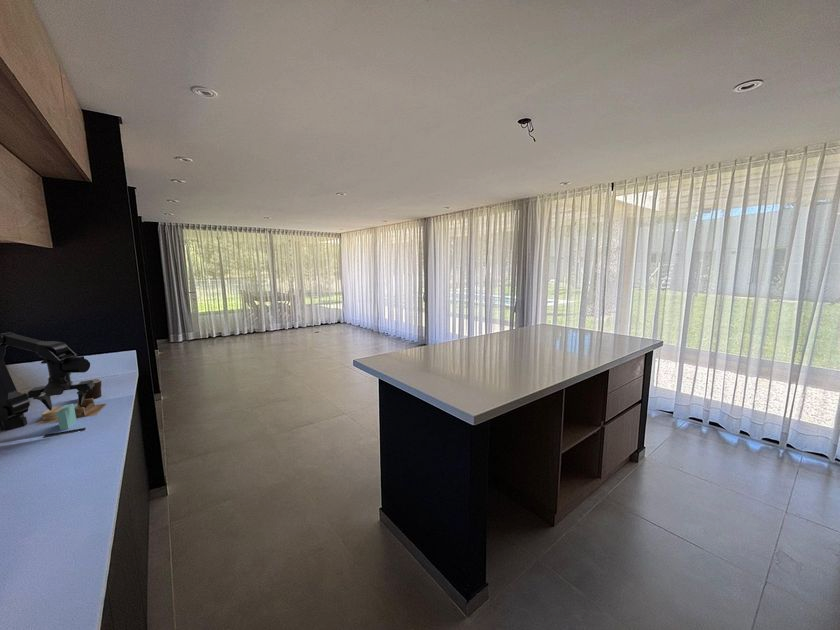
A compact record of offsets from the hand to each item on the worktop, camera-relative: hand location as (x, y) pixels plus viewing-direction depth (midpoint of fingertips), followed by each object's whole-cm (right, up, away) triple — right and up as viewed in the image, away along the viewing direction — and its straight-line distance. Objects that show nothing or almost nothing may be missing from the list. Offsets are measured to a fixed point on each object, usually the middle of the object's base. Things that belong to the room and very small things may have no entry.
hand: (65, 407), depth 141 cm
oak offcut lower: (-15, -6, +9) cm, 19 cm away
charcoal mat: (0, -9, +2) cm, 10 cm away
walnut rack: (-9, -8, +12) cm, 17 cm away
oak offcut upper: (-15, -5, +9) cm, 18 cm away
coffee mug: (-17, -5, +28) cm, 34 cm away
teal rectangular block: (0, -9, +1) cm, 9 cm away
